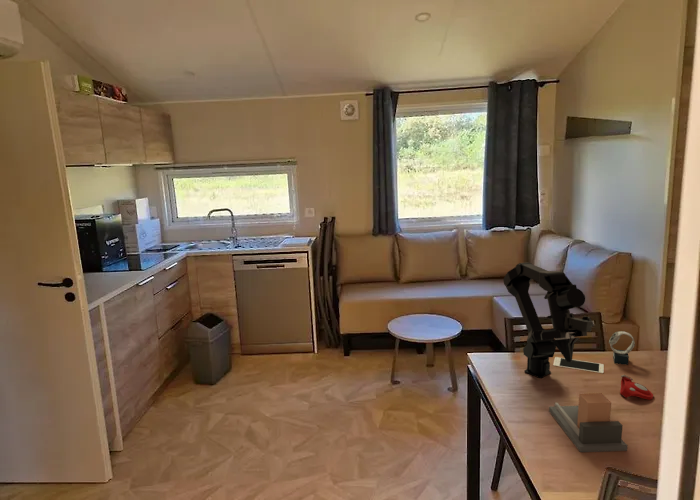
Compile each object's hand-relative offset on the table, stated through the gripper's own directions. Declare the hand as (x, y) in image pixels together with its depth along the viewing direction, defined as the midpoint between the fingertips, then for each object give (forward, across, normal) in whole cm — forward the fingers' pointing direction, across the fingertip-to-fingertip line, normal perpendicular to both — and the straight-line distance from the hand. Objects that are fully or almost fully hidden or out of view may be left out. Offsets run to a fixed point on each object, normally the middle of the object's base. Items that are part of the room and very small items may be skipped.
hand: (569, 361), depth 148 cm
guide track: (+18, -10, -5) cm, 21 cm away
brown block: (+18, -13, -9) cm, 24 cm away
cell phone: (+3, +27, +10) cm, 29 cm away
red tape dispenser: (+12, +21, -8) cm, 26 cm away
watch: (+3, +40, +1) cm, 41 cm away
